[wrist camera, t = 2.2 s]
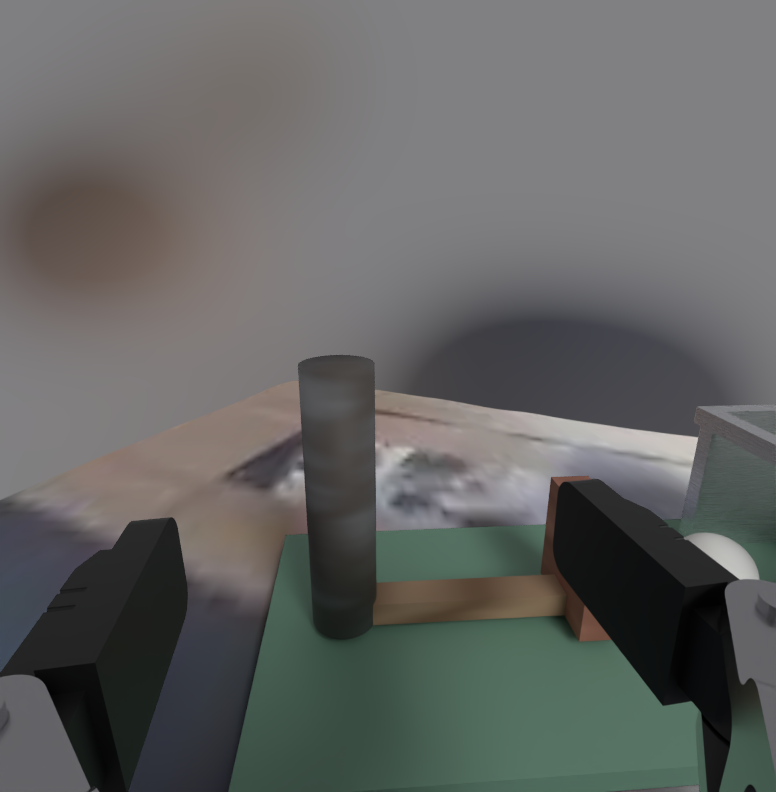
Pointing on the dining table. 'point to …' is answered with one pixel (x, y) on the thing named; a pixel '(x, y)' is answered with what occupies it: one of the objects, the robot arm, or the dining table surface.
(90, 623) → the robot arm
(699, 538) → the ball
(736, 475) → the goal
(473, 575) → the board
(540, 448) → the dining table surface
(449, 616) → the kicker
